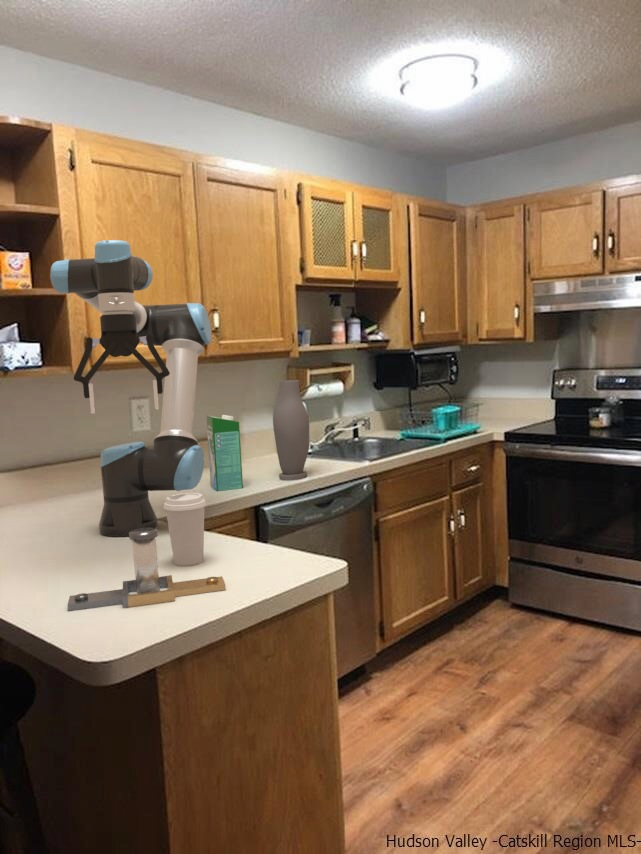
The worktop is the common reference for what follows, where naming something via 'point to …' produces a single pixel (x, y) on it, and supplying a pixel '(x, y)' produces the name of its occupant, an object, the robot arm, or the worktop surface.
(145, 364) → the robot arm
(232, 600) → the worktop surface
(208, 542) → the worktop surface
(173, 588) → the link plate bronze
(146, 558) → the pin
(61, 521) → the worktop surface
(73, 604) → the link plate steel
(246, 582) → the worktop surface
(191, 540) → the coffee cup
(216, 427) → the milk carton
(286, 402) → the vase
